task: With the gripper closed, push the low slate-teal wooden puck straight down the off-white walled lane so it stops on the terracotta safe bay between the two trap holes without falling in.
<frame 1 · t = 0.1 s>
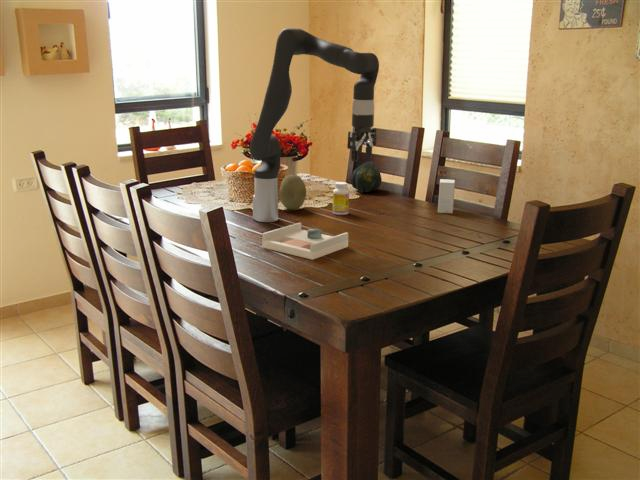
hand: (361, 159, 249), 29 cm above the table, fingers open, 8 cm apart
puck: (314, 237, 250), point 2 cm above the table, touching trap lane
small box: (445, 211, 302), on the table
fruit: (292, 209, 302), on the table
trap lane: (305, 247, 247), on the table
squash: (365, 191, 340), on the table
supplement bottle: (340, 214, 295), on the table
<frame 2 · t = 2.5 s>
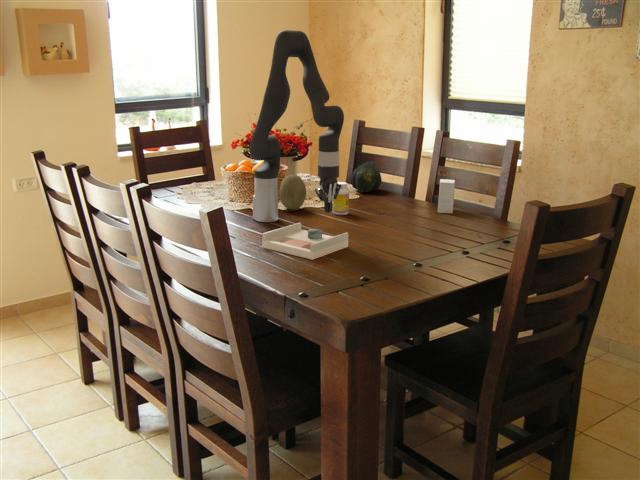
hand: (328, 212, 254), 10 cm above the table, fingers closed
nothing on the table moved.
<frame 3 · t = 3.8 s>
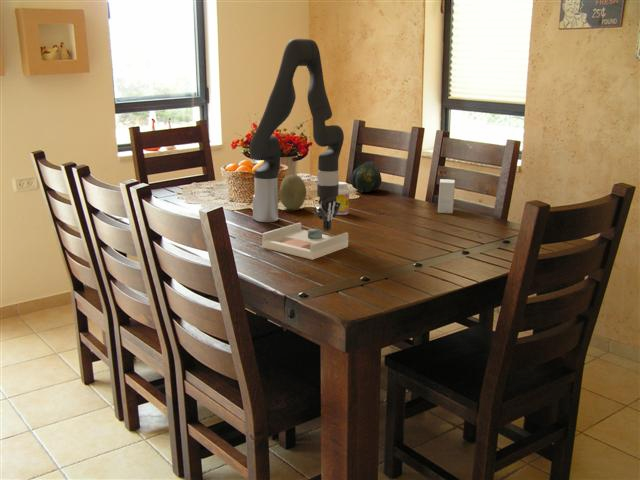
hand: (327, 230, 256), 4 cm above the table, fingers closed
nothing on the table moved.
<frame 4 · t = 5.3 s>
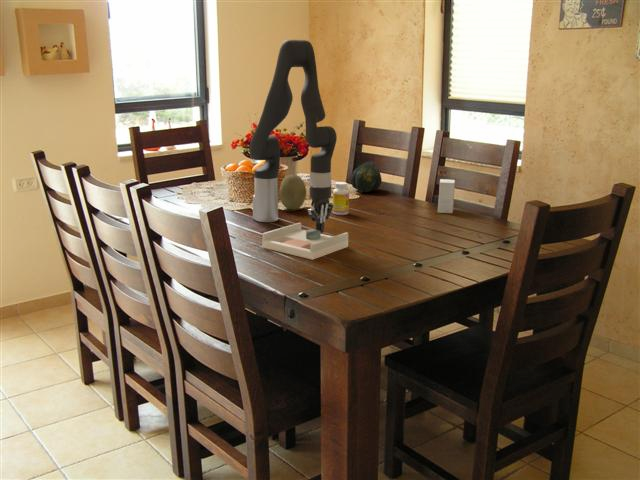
hand: (319, 232, 252), 4 cm above the table, fingers closed
puck: (313, 237, 249), point 2 cm above the table, touching gripper, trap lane
everything else where it was.
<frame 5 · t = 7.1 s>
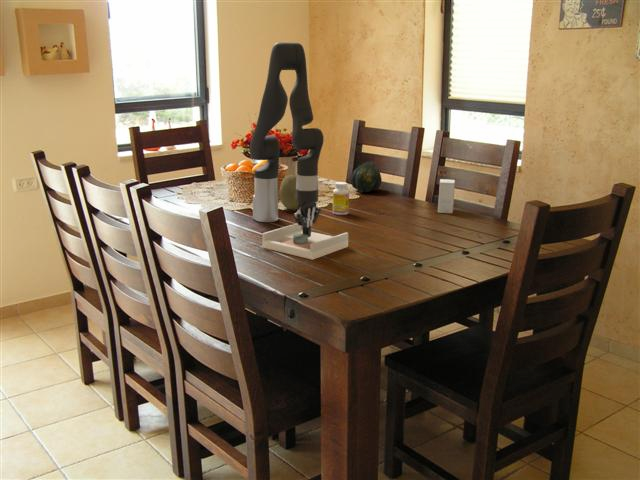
hand: (306, 236, 246), 4 cm above the table, fingers closed
puck: (300, 242, 243), point 2 cm above the table, touching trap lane
everything else where it was.
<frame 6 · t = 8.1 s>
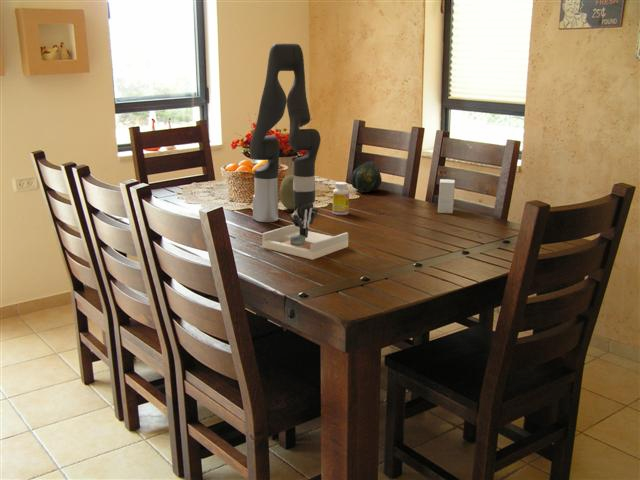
hand: (303, 237, 245), 4 cm above the table, fingers closed
puck: (297, 243, 242), point 2 cm above the table, touching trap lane
everything else where it was.
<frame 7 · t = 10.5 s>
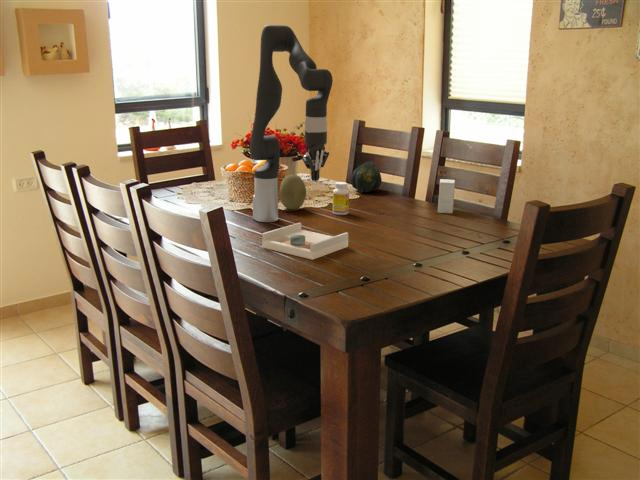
hand: (315, 180, 245), 23 cm above the table, fingers closed
nothing on the table moved.
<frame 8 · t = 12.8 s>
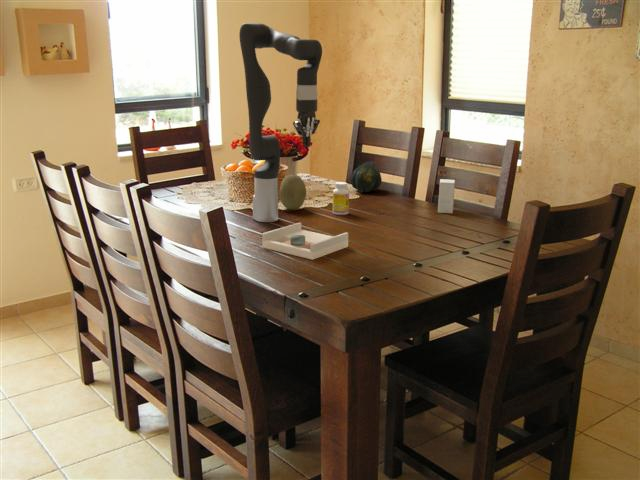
hand: (306, 146, 257), 32 cm above the table, fingers closed
nothing on the table moved.
at the end: puck inside the target area on the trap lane (1.3 cm from its centre), point 2.5 cm above the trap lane's base; puck tilted 0°; puck moved 10.4 cm from its start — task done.
